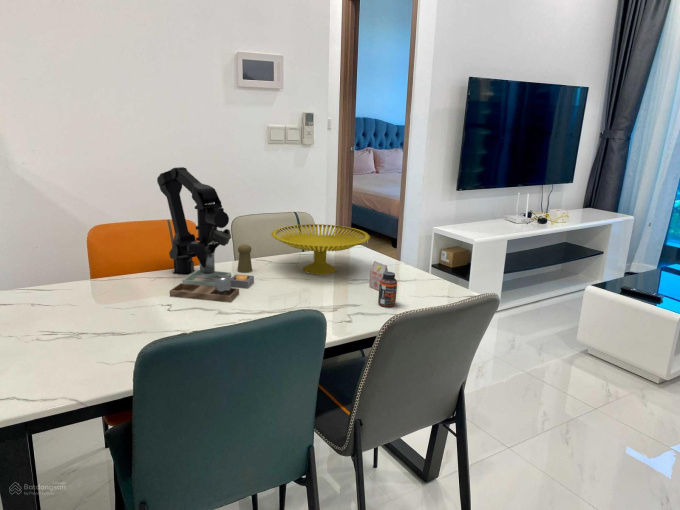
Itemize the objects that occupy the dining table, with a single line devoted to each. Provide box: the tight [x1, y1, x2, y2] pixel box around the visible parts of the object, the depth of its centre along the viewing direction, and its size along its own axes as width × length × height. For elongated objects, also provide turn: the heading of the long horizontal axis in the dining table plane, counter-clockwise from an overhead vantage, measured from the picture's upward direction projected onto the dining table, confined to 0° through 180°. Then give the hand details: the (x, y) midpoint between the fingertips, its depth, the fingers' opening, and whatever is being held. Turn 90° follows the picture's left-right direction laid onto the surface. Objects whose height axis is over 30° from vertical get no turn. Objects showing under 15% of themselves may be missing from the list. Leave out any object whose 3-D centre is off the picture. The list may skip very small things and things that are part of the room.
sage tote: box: [181, 269, 232, 286], centre depth 187 cm, size 13×13×3 cm
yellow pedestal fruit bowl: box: [270, 223, 371, 275], centre depth 210 cm, size 40×40×15 cm
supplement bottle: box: [377, 271, 398, 308], centre depth 173 cm, size 6×6×11 cm
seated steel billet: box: [214, 275, 232, 296], centre depth 172 cm, size 5×5×7 cm
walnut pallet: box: [169, 283, 240, 303], centre depth 173 cm, size 21×8×3 cm, turn 81°
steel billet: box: [199, 252, 216, 274], centre depth 186 cm, size 5×5×7 cm
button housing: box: [231, 273, 255, 289], centre depth 186 cm, size 7×7×4 cm
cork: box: [236, 244, 253, 274], centre depth 203 cm, size 6×6×11 cm
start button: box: [236, 274, 247, 281], centre depth 185 cm, size 4×4×3 cm
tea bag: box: [368, 260, 389, 292], centre depth 189 cm, size 4×7×10 cm, turn 36°
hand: (207, 265), depth 186 cm, fingers closed on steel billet, 5 cm apart
